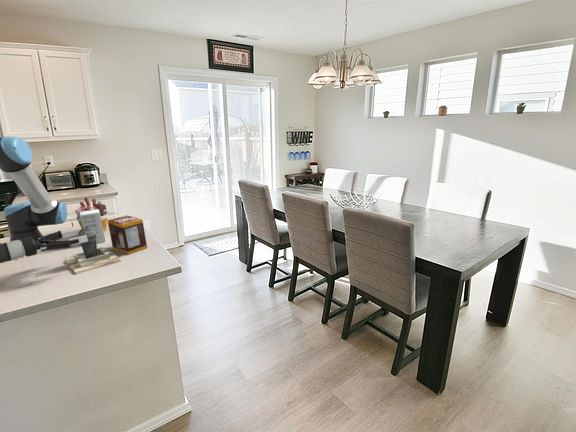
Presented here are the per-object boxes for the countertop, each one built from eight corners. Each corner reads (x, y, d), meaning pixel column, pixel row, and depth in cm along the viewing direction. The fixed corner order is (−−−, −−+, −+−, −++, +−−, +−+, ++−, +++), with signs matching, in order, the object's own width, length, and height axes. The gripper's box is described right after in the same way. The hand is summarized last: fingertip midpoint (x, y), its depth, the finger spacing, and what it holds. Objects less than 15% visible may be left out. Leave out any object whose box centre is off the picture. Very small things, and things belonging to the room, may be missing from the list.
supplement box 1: (106, 241, 171) (100, 212, 166) (86, 245, 166) (79, 215, 161) (104, 237, 178) (98, 208, 174) (85, 240, 174) (79, 211, 169)
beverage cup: (92, 262, 141) (83, 221, 136) (79, 262, 143) (69, 220, 137) (104, 256, 148) (96, 216, 142) (91, 255, 150) (83, 215, 144)
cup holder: (65, 261, 146) (63, 254, 145) (107, 250, 159) (105, 243, 158) (75, 274, 133) (74, 266, 132) (120, 261, 145) (119, 254, 144)
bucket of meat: (114, 232, 187) (108, 199, 181) (82, 238, 177) (74, 204, 171) (107, 224, 202) (101, 194, 196) (77, 230, 192) (70, 199, 186)
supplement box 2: (131, 242, 169) (126, 214, 165) (147, 248, 160) (142, 219, 156) (112, 248, 161) (106, 219, 157) (128, 254, 152) (122, 224, 148)
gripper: (20, 249, 135) (77, 236, 150) (30, 265, 119) (92, 249, 133) (16, 233, 133) (73, 221, 148) (25, 247, 117) (89, 232, 131)
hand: (82, 234), depth 141 cm, fingers open, 13 cm apart
